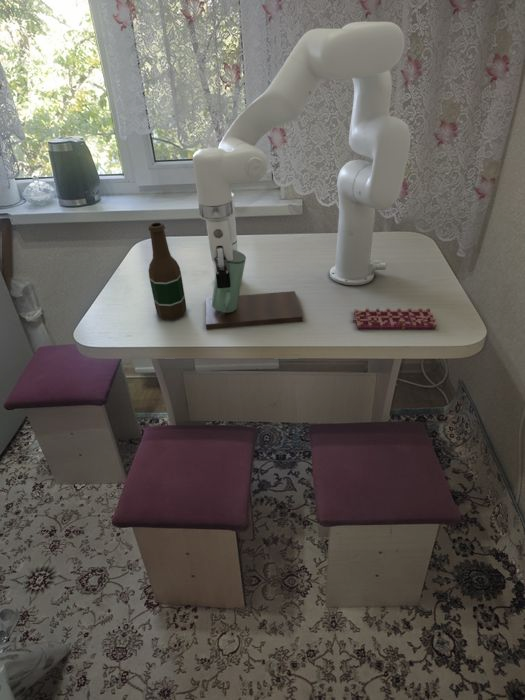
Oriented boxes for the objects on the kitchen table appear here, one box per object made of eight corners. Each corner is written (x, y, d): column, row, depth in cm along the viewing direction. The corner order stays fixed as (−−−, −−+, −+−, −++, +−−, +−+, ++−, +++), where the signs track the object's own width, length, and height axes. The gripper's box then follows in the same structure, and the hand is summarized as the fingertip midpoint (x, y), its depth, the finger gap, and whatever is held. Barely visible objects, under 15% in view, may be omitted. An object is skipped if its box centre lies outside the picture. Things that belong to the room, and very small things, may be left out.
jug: (236, 300, 120) (245, 251, 112) (238, 319, 112) (247, 268, 104) (211, 297, 118) (218, 247, 110) (211, 316, 111) (219, 264, 103)
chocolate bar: (351, 313, 115) (352, 307, 114) (427, 313, 114) (429, 306, 113) (354, 329, 109) (355, 322, 108) (435, 329, 108) (436, 322, 107)
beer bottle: (173, 324, 114) (157, 233, 100) (150, 316, 118) (131, 227, 103) (193, 310, 119) (180, 221, 105) (170, 302, 123) (155, 216, 109)
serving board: (294, 295, 124) (294, 291, 123) (302, 321, 113) (302, 316, 112) (206, 302, 122) (206, 298, 121) (206, 329, 112) (205, 324, 111)
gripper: (234, 221, 95) (240, 296, 105) (230, 195, 109) (236, 263, 119) (198, 224, 94) (208, 299, 105) (199, 197, 108) (208, 265, 119)
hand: (223, 279), depth 112 cm, fingers closed on jug, 6 cm apart
